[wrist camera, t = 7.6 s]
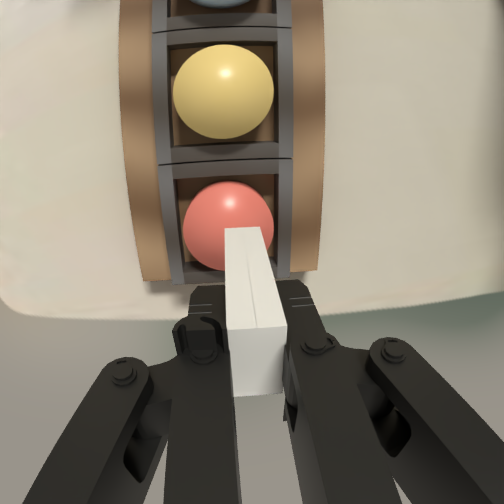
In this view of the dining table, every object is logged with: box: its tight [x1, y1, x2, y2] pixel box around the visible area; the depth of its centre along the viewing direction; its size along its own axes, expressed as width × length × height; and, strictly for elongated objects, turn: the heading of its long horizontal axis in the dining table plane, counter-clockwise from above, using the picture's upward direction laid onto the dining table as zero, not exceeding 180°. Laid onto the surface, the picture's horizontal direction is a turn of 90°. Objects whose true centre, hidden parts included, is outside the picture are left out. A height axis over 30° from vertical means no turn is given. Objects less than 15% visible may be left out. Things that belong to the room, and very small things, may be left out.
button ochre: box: [173, 45, 274, 139], centre depth 15 cm, size 5×5×2 cm
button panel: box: [119, 0, 325, 285], centre depth 16 cm, size 23×12×4 cm, turn 1°
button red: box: [183, 180, 274, 271], centre depth 18 cm, size 5×5×2 cm
